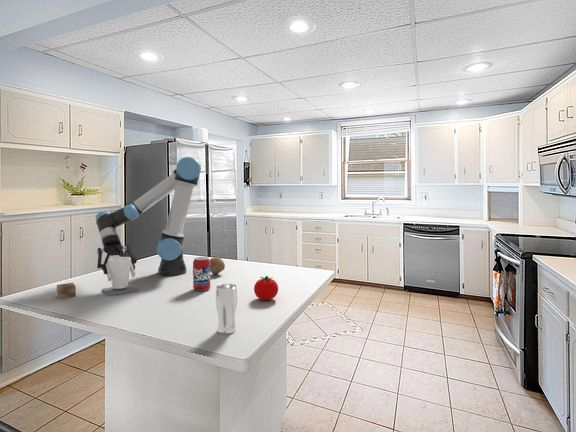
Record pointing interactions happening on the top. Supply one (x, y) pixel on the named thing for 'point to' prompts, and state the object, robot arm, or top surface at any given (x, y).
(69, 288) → the walnut block
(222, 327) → the beer glass
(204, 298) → the top surface
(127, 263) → the foam cup
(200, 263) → the soda can
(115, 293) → the mat
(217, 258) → the natural sponge
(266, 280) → the tomato
